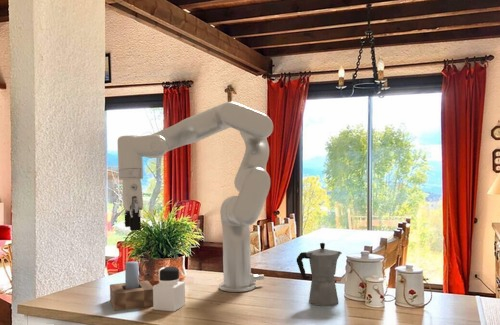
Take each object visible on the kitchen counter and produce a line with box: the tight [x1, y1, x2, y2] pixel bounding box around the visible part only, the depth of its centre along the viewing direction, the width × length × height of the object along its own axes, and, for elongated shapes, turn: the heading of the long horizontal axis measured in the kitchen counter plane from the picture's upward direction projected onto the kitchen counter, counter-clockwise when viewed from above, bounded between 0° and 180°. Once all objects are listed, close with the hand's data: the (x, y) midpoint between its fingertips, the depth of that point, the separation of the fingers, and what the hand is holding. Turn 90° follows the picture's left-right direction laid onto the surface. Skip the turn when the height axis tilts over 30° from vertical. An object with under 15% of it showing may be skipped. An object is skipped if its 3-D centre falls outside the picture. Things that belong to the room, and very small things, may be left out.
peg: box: [124, 260, 140, 290], centre depth 150 cm, size 4×4×12 cm
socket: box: [109, 280, 154, 311], centre depth 149 cm, size 12×12×5 cm
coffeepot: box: [296, 242, 342, 307], centre depth 146 cm, size 15×9×18 cm, turn 110°
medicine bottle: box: [152, 265, 186, 312], centre depth 144 cm, size 7×7×12 cm
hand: (132, 228), depth 152 cm, fingers open, 9 cm apart
